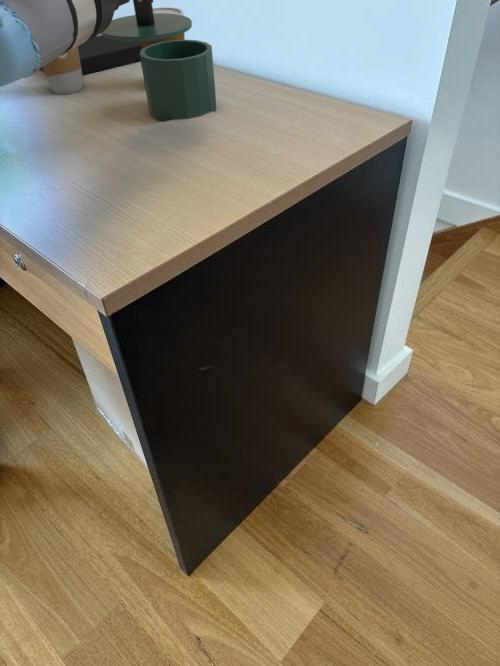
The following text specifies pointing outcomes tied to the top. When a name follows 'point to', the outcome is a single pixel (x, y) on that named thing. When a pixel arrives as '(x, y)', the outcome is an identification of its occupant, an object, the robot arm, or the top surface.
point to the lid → (146, 25)
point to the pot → (179, 79)
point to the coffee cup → (65, 73)
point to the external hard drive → (106, 54)
